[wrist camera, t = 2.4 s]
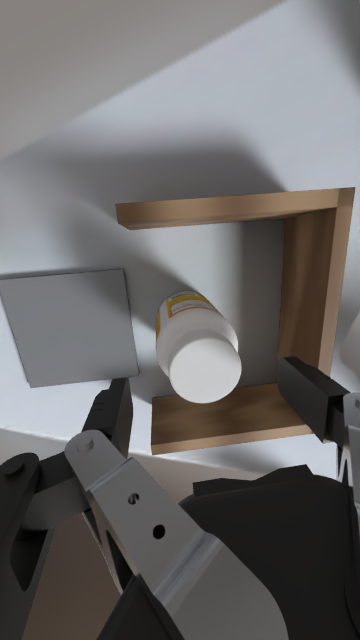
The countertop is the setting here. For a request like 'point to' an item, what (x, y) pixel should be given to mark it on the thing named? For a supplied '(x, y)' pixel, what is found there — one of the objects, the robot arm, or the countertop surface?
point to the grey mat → (71, 326)
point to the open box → (295, 314)
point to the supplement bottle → (196, 348)
